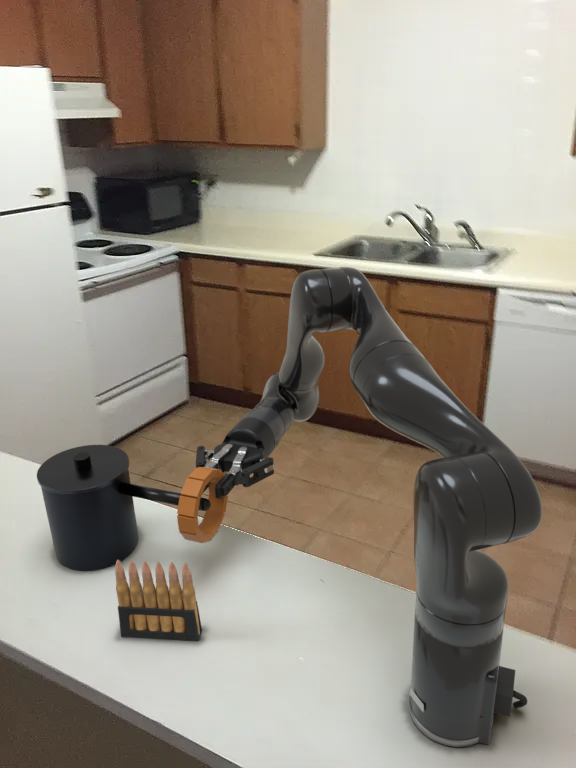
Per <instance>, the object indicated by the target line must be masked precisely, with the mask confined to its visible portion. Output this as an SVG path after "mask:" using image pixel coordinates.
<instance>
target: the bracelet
mask: <svg viewBox="0 0 576 768" xmlns="http://www.w3.org/2000/svg"><path fill="white" fill-rule="evenodd" d="M224 475H225V474H223V472H222V471H221V470H219V469H213V468H208V467H198V468H196V467H195V468H194V470H193V471H192V472H190V473H189V475H188V476H187V478H186V479H185V481H184V484H183V487H182V489H181V492H180V493H181V495H182V496H180V498H179V504H178V506H177V511H176V514H177V516H176V518H177V519H176V520H177V527H178V531H179V534H180V535H181V536H182V537H183V538H184V540H187V541H190V542H195V543H199V544H200V543H201V544H205V543H209V542H210V541H212V540H213V539H214V537H215V536H216V535H217V533H218V532H219V530H220V528H221V525H222V523H223V520H224V518H225V515H226V511H227V504H228V497H229V495H226V496H223V497H222V499H218V498H216V496H215V486H216V484H217V483H218V482H219V481H220V480H221V479H222V478H223V477H224ZM207 484H208V498H207V499H208V500H209V501H210V503H211V506H210V508H209V509H208V510H207V511H204V512H205V513H204V515H203V518H202V520H201V521H200V523H199V518H198V517H199V516H198V515H199V511H200V510H199V503H200V499H201V498H202V496H203V494H204V493H203V491H204V489H205V486H206V485H207Z"/></svg>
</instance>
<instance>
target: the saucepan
mask: <svg viewBox="0 0 576 768" xmlns="http://www.w3.org/2000/svg"><path fill="white" fill-rule="evenodd" d="M129 468H130V458H129V455H128V454H127V452H125V451H124V450H123V449H121V448H119V447H116V446H113V445H107V444H87V445H80V446H76V447H71V448H69V449H64V450H63V451H60V452H58V453H56V454H54V455H52V456H50V457H49V458H47V459H46V460H45V461H43V463H42V464H40V466H39V468H38V470H37V471H36V480H37V483H38V485H39V486H40V488H41V493H42V497H43V502H44V507H45V511H46V516H47V521H48V525H49V531H50V535H51V540H52V545H53V550H54V554H55V558H56V560H57V561H58V563H59V564H60V565H62V566H63V567H64V568H67V569H70V570H73V571H79V572H90V571H98V570H103V569H106V568H109V567H112V566H114V565H116V561H117V560H119V561H120V562H122V561H124V560H126V558H128V557H129V556H130V555H131V554H132V553H133V552H134V551H135V549H136V548H137V546H138V544H139V539H140V537H139V531H138V523H137V516H136V511H135V505H134V498H138V499H143V500H148V501H152V502H153V501H154V502H157V503H162V504H167V505H172V506H176V507H178V504H179V498H180V496H182V495H181V492H175V491H170V490H165V489H160V488H155V487H150V486H145V485H140V484H136V483H135V484H134V483H131V477H130V471H129V470H130V469H129ZM133 497H134V498H133ZM208 499H209V498H205V497H201V499H200V503H199V510H198V511H202V512H206V511H207V510H208V509H209V508H210V506H211V503H210V501H209V500H208Z"/></svg>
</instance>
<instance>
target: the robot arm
mask: <svg viewBox="0 0 576 768" xmlns="http://www.w3.org/2000/svg"><path fill="white" fill-rule="evenodd" d="M288 309H289V310H288V318H287V319H288V320H287V335H286V348H285V351H284V355H283V358H282V363H281V365H280V368H279V371H277V372H274V373H273V374H271V376H270V377H269V378H268V379H267V381H266V383H265V385H264V388H263V391H262V394H261V399H260V401H258V403H257V404H256V405H255V406H254V407H253V408H252V409H251V410H250V411H249V412H247V413H246V414H244V416H243V417H242V418H241V419H240V420H239V421H238V422H237V423H236V424H235V425H234V426H232V428H231V429H230V430H229V431H228V432H227V434H226V435H225V437H224V439H223V441H222V442H221V443H220V444H218V445H215V447H214V448H213V449H206V448H205V445H199V446H197V447H196V455H195V457H196V458H195V469H196V468H198V467H208V468H213V469H219V470H221V471H222V472H223V474H224V477H223V478H222V479H221V480H220V481H219V482H218V483H217V484H216V486H215V496H216V498H218V499H222V497H223V496H226V495H227V496H229V494H230V493H231V491H232V490H233V489H234V488H237V487H238V486H239V485H242V488H250V487H251V486H253V485H256V484H257V483H259V482H261V481H263V480H264V479H267V478H269V477H270V476H272V475H274V474H275V463H274V458H273V457H271V454H272V453H273V452H274V450H275V449H276V448H277V447H278V445H279V444H280V442H281V441H282V438H283V437H284V436H285V434H286V433H287V432H288V431H289V430H290V428H291V427H292V425H293V423H294V421H295V422H299V423H300V422H301V423H302V422H305V421H307V420H310V418H312V417H313V415H314V414H315V413H316V411H317V409H318V406H319V403H320V402H319V401H320V386H319V380H320V377H321V375H322V373H323V370H324V368H325V364H326V363H325V362H326V357H325V352H324V349H323V346H322V344H320V342H319V341H318V340H317V338H315V336H314V334H315V333H318V334H320V333H321V334H322V333H330V332H338V331H354V332H356V333H357V334H358V338H357V340H356V342H355V345H354V347H353V349H352V352H351V355H350V360H349V368H348V370H349V371H348V372H349V377H350V378H349V379H350V382H351V384H352V386H353V388H354V390H355V392H356V393H357V396H358V397H359V398H360V400H361V401H362V403H363V404H364V406H365V407H366V409H367V410H368V412H369V413H370V414H371V416H372V417H373V418H374V419H376V420H377V421H378V422H379V423H380V424H382V426H385V427H386V428H388V429H390V430H391V431H393V432H394V433H397V434H399V435H400V436H403V437H405V438H407V439H409V440H411V441H413V442H416V443H417V444H419V445H422V446H424V447H426V448H428V449H429V450H431V451H432V452H433V451H434V453H437V454H438V455H440V456H441V458H436V459H432V460H429V461H426V462H424V463H423V464H422V465H421V466H420V467H419V469H418V470H417V473H416V476H415V480H414V485H413V560H414V568H415V575H416V590H415V605H414V606H415V607H414V620H413V621H414V623H413V625H414V626H413V639H412V642H413V643H412V660H411V678H410V679H411V680H410V687H409V693H408V694H409V698H408V710H409V714H410V716H411V717H410V718H411V720H412V721H413V723H414V725H415V726H416V727H417V729H418V730H419V731H420V732H421V733H423V735H425V736H426V737H427V738H429V739H430V740H432V741H434V742H436V743H439V744H441V745H445V746H448V747H455V748H462V747H469V746H473V745H476V744H483V745H490V743H491V742H490V741H491V733H492V727H493V724H494V715H495V714H498V715H502V716H505V717H508V718H510V717H511V714H512V707H513V708H514V709H516V710H517V709H520V708H523V707H525V706H527V704H528V699H527V697H526V695H524V694H522V693H521V692H518V691H516V690H514V689H515V677H516V669H513V668H509V667H505V666H501V665H500V662H501V655H502V647H503V646H502V645H503V635H504V628H505V627H504V626H505V619H506V610H507V604H508V597H509V590H510V589H509V586H510V585H509V579H508V575H507V573H506V571H505V570H504V568H503V567H502V566H501V565H500V563H499V562H497V561H496V560H495V559H494V558H493V557H491V556H490V555H488V554H487V553H485V552H483V551H481V550H483V549H487V548H491V547H492V548H493V547H496V546H500V545H505V544H506V545H507V544H509V543H514V542H516V541H520V540H523V539H524V538H527V537H529V536H531V535H532V534H533V533H535V531H537V529H538V527H539V526H540V524H541V521H542V517H543V504H542V503H543V502H542V498H541V495H540V492H539V489H538V487H537V484H536V481H535V480H534V478H533V477H532V475H531V473H530V471H529V470H528V469H527V467H526V466H525V464H524V462H523V461H522V460H521V459H520V458H519V456H518V455H517V454H516V453H515V452H514V451H513V450H512V449H511V448H510V447H509V446H508V445H507V444H506V443H505V442H504V441H503V440H502V439H500V437H499V436H497V435H496V434H495V433H494V432H493V431H492V430H491V429H490V428H489V427H487V425H485V424H484V423H483V422H482V421H481V420H480V419H479V418H478V417H477V416H476V415H475V414H474V413H473V412H472V411H470V409H469V408H468V407H467V406H465V404H464V403H463V402H462V401H461V399H459V397H458V396H457V395H456V394H455V393H454V392H453V391H452V389H451V388H450V387H449V386H448V385H447V383H446V382H444V380H443V379H442V378H441V377H440V375H438V373H437V371H436V370H435V369H434V367H433V366H432V364H431V363H430V362H429V361H428V360H427V358H425V356H424V355H423V354H422V352H421V351H420V350H419V349H418V348H417V346H416V345H415V344H413V342H412V341H411V340H410V339H409V337H407V336H406V334H405V333H404V332H403V331H402V329H401V328H400V327H399V326H398V324H397V323H396V322H395V320H394V318H393V317H392V316H391V315H390V314H389V312H388V311H387V309H386V308H385V306H384V304H383V302H382V301H381V299H380V298H379V296H378V294H377V292H376V291H375V289H374V287H373V286H372V285H371V282H370V281H369V279H368V278H367V277H366V276H365V274H364V273H363V272H361V270H359V269H358V268H355V267H353V266H338V267H329V268H318V269H317V268H316V269H310V270H305V271H301V272H300V273H298V275H297V276H296V277H295V279H294V281H293V283H292V286H291V292H290V299H289V308H288ZM251 475H252V476H251ZM207 489H209V487H208V484H207V485H206V486H205V489H204V491H203V494H204V493H205V492H206V491H207ZM513 698H514V699H516V701H513Z"/></svg>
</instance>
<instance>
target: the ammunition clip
mask: <svg viewBox="0 0 576 768" xmlns="http://www.w3.org/2000/svg"><path fill="white" fill-rule="evenodd" d="M128 564H129V565H128V579H129V580H128V581H129V583H128V581H127V577H126V572H125V569H124V565H123V564H122V561H119V560H117V561H116V564H115V566H114V573H115V583H116V585H115V591H116V597H117V603H118V606H117V612H118V613H117V614H118V621H119V629H120V637H121V638H134V639H151V640H153V639H156V640H169V641H188V642H198V641H200V639H201V635H202V632H203V628H202V623H201V617H200V616H201V615H200V611H199V605H198V601H197V596H196V589H195V586H194V582H193V578H192V572H191V569H190V567H189V564H188V563H187V562H183V564H182V565H183V566H182V569H181V578H182V579H181V581H182V586H181V582H180V578H179V573H178V570H177V566H176V565H175V563H174V562H173V561H171V562H170V563H169V567H168V582H167V579H166V574H165V570H164V567H163V565H162V564H161V562H160V561H157V562H156V564H155V574H154V575H155V582H154V578H153V574H152V570H151V568H150V565H149V563H148V562H147V560H144V561H143V563H142V569H141V575H142V576H141V577H142V583H141V580H140V576H139V572H138V568H137V566H136V564H135V562H134V561H133V560H132V559H131V560H130V561H129V563H128ZM168 585H169V586H168Z"/></svg>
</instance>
